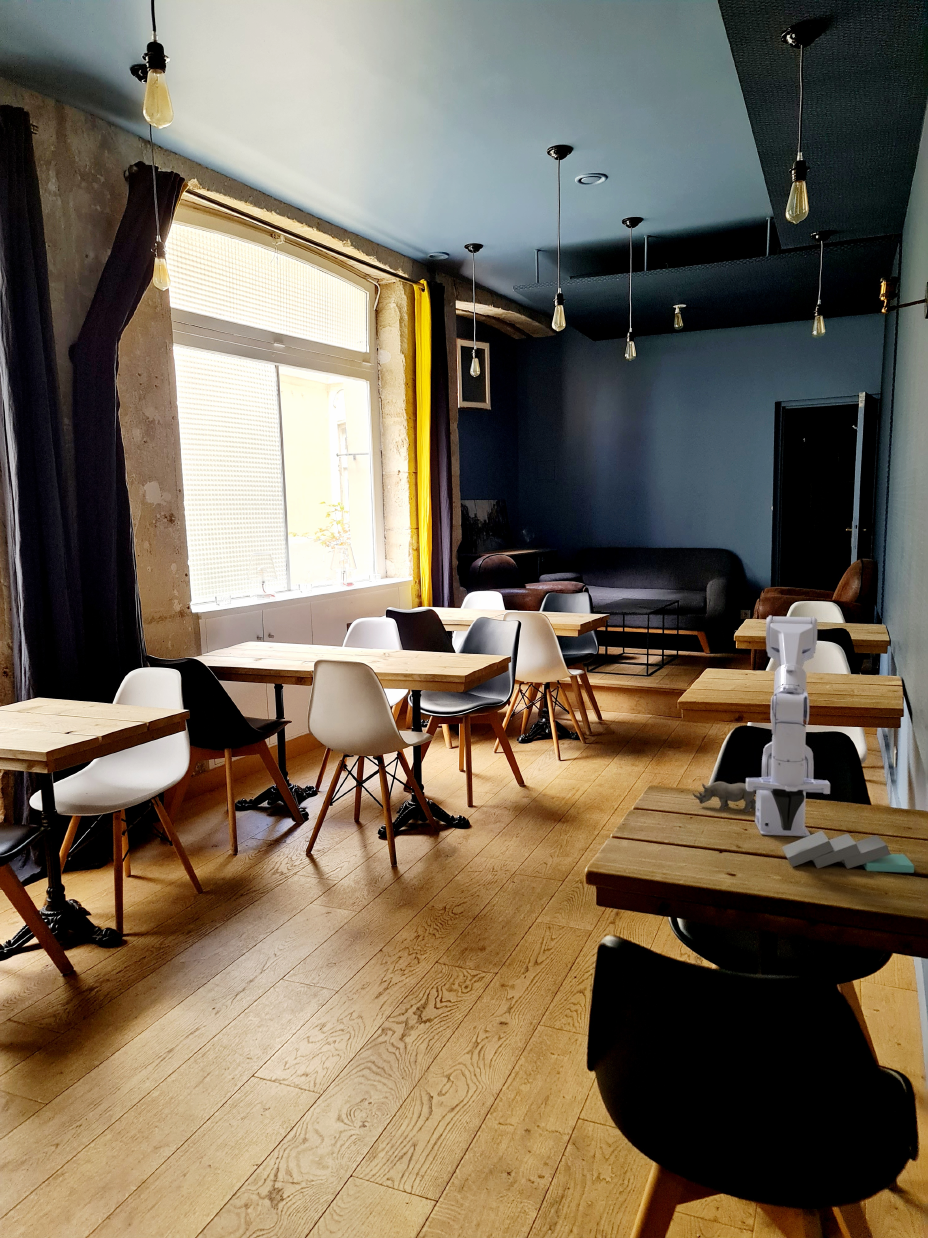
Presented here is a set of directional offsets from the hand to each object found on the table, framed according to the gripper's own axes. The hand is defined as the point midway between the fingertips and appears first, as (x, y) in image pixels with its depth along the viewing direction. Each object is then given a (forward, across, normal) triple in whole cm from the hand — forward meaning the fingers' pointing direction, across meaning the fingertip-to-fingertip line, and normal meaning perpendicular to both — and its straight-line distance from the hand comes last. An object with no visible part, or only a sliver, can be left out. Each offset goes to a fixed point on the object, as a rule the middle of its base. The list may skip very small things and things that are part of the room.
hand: (786, 828), depth 159 cm
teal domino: (+6, +14, 0) cm, 15 cm away
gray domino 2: (+6, +5, 0) cm, 7 cm away
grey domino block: (+5, +10, 0) cm, 11 cm away
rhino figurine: (+7, -7, +29) cm, 31 cm away
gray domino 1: (+6, 0, 0) cm, 6 cm away
